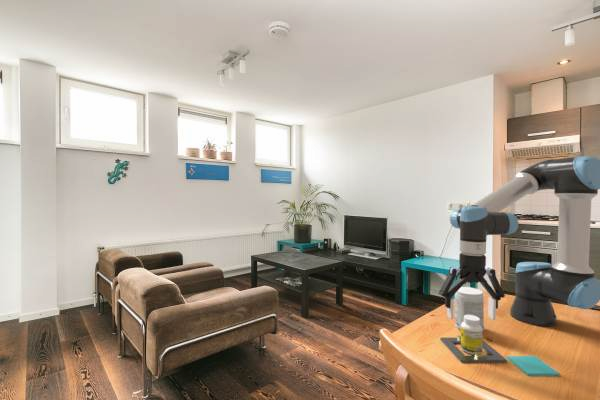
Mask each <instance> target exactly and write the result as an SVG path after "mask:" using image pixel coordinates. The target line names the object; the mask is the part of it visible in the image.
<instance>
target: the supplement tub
mask: <svg viewBox="0 0 600 400" xmlns="http://www.w3.org/2000/svg"><path fill="white" fill-rule="evenodd" d="M484 300H485V299H484V292H483V290H481V289H478V288H476V287H469V286H462V287H461V288H460V289H459V290H458V291H457V292H456V293H455V294H454V320H455V323H454V324H455V327H456V328H457V329H459V330H460V331H461V324H462V322H464V315H474V316H477V317H478V318H480V325H481V326H482V329H483V331H484V327H485V325H484V323H485V322H484V321H485V320H484V319H485V315H484V314H485V312H484V310H485V309H484V303H485V302H484Z"/></svg>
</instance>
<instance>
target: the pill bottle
mask: <svg viewBox="0 0 600 400" xmlns="http://www.w3.org/2000/svg"><path fill="white" fill-rule="evenodd" d="M483 332H484V330H483V329H482V326H481V325H480V318H478V317H477V316H474V315H464V322H462V324H461V330H460V336H461V343H460V348H461V351H463V352H464V353H466V354H469V355H475V352H483V348H482V340H483Z"/></svg>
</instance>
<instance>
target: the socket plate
mask: <svg viewBox="0 0 600 400" xmlns="http://www.w3.org/2000/svg"><path fill="white" fill-rule="evenodd" d="M439 341H441V343H442V344H444V346H446V348H447V349H448V350H449V351H450V352H451V354H452V355H454V356H455V358H456V359H457V360H458V362H460V363H508V359H507V358H506V357H504V356H503V355H502V354H501V353H499V352H498V351H497V350H496V349H494V348H493V347H492V345H489V343H488V342H486V341H485V340H484V339H482V350H484V351H482V352H475V355H473V354H469V355H468V354H464V353H463V352H462V350H461V349H460V348H459V347H457V346H456V344H461V335H457V337H440V340H439Z"/></svg>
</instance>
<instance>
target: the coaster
mask: <svg viewBox="0 0 600 400" xmlns="http://www.w3.org/2000/svg"><path fill="white" fill-rule="evenodd" d="M505 359H507V361H509V362H511V363H512V364H513V365H514V366H515V367H517V368H518V370H520V371H521V372H523V373H525V375H526V376H529V377H530V376H531V377H532V376H534V377H535V376H537V377H538V376H539V377H541V376H543V377H544V376H547V377H549V376H550V377H551V376H552V377H553V376H555V375H557V376H558V375H560V372H558V370H556V369H554V368H553V367H551V366H550V365H548V363H546V362H544V361H543V360H541V359H540V358H539V357H537V356H536V355H506V357H505ZM560 376H561V375H560Z"/></svg>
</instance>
